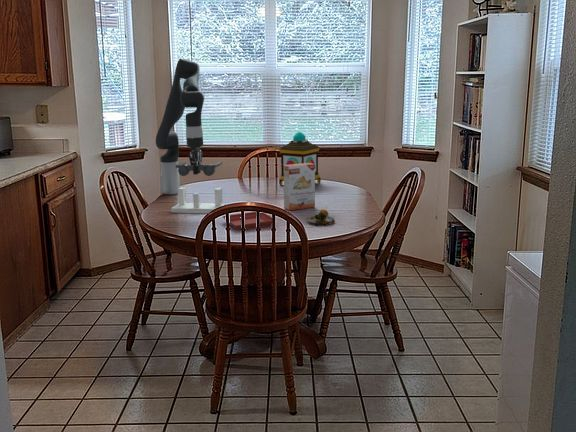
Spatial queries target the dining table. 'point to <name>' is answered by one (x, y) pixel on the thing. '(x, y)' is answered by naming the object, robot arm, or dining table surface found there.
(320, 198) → the dining table surface
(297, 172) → the cracker box
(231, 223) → the plant saucer
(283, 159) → the decorative lantern
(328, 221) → the small succulent plant
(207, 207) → the display stand
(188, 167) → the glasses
